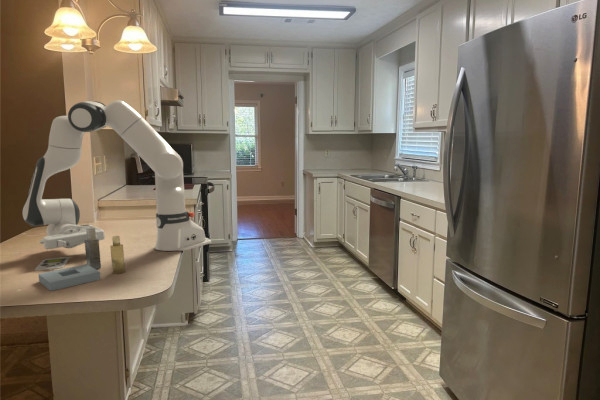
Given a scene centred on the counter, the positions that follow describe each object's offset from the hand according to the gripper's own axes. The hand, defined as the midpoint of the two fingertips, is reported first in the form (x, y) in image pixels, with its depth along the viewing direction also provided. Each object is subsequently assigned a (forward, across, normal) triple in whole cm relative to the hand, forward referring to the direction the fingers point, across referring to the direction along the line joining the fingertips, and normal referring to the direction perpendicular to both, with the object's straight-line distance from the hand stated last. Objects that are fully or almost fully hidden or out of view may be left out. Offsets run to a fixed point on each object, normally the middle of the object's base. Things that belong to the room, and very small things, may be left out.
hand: (81, 241), depth 151 cm
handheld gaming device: (-6, -8, +8) cm, 13 cm away
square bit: (+11, 0, +8) cm, 13 cm away
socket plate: (+19, -10, +7) cm, 23 cm away
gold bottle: (+22, +4, +8) cm, 23 cm away
